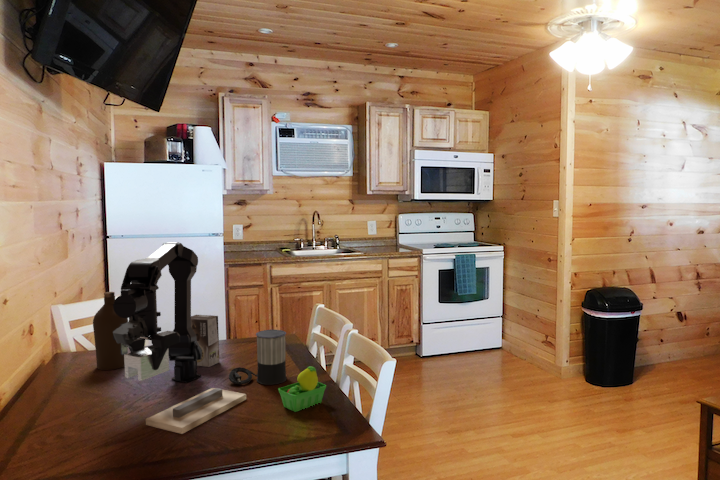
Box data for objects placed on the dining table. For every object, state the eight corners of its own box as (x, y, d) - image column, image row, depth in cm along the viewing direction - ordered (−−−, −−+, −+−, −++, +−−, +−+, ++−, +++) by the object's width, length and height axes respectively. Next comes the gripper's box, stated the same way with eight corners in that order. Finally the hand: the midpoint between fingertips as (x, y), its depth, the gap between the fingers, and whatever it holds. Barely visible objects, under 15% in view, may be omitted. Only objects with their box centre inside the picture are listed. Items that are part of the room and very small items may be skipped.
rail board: (212, 392, 151) (212, 380, 151) (246, 399, 146) (246, 387, 145) (145, 424, 129) (145, 411, 129) (182, 434, 124) (181, 419, 124)
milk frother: (293, 380, 161) (292, 332, 160) (250, 393, 150) (248, 343, 149) (265, 370, 171) (264, 325, 170) (223, 382, 160) (221, 334, 159)
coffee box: (220, 361, 180) (219, 315, 179) (209, 367, 174) (207, 319, 173) (198, 359, 183) (196, 313, 182) (186, 365, 177) (184, 317, 176)
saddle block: (153, 367, 143) (152, 345, 143) (169, 370, 140) (168, 348, 140) (125, 377, 135) (124, 354, 135) (141, 380, 132) (140, 357, 132)
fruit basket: (310, 395, 148) (309, 356, 147) (330, 404, 142) (330, 363, 141) (277, 407, 140) (276, 365, 139) (297, 416, 134) (296, 373, 133)
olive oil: (91, 372, 170) (87, 296, 168) (99, 362, 181) (96, 290, 179) (126, 369, 172) (122, 294, 171) (132, 360, 183) (129, 289, 181)
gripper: (93, 312, 134) (96, 372, 135) (145, 319, 125) (147, 383, 126) (130, 304, 143) (132, 360, 145) (180, 310, 135) (182, 369, 136)
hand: (147, 368), depth 138 cm, fingers closed on saddle block, 6 cm apart
